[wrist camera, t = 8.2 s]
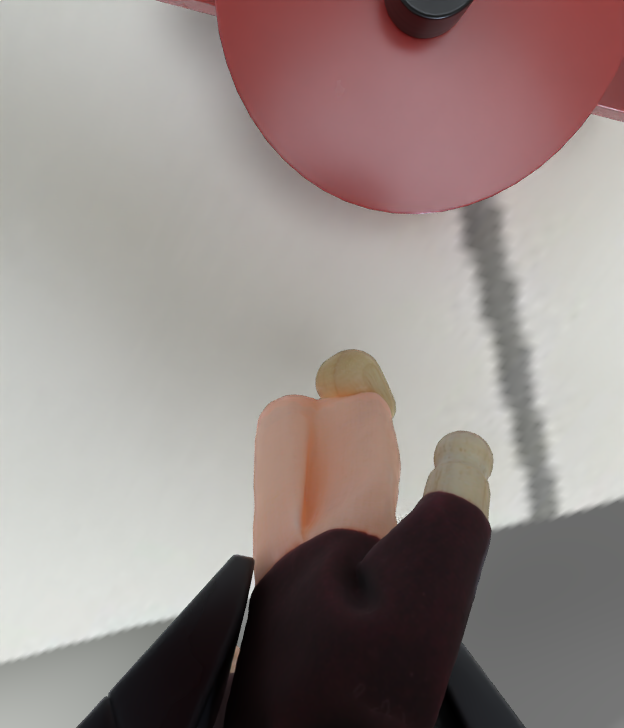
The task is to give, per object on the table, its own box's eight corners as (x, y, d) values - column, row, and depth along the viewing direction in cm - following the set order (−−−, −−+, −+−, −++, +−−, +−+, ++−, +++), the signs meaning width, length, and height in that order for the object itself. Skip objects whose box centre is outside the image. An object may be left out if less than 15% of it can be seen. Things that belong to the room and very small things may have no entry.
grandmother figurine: (331, 291, 13) (448, 1321, 1) (444, 359, 14) (1304, 1496, 2) (207, 492, 15) (-195, 1536, 3) (308, 542, 16) (270, 1582, 4)
